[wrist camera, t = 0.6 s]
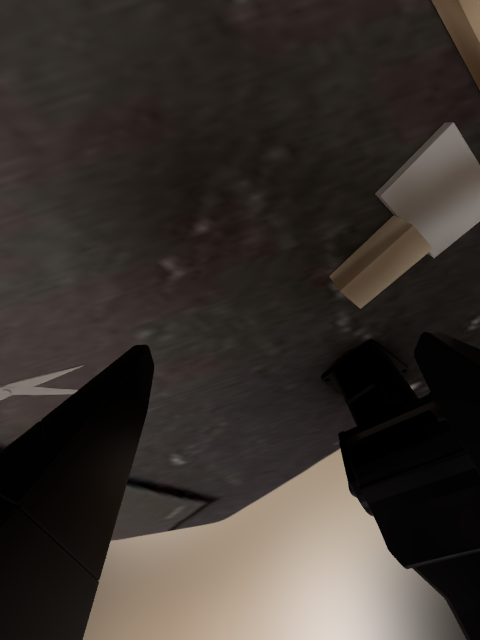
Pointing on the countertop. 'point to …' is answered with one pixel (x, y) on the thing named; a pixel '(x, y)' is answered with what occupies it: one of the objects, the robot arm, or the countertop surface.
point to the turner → (416, 215)
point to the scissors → (28, 385)
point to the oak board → (463, 30)
